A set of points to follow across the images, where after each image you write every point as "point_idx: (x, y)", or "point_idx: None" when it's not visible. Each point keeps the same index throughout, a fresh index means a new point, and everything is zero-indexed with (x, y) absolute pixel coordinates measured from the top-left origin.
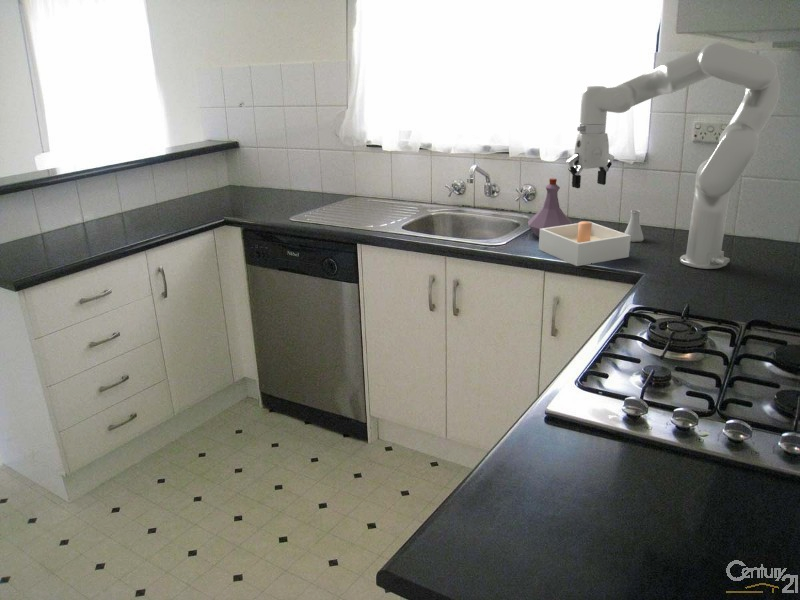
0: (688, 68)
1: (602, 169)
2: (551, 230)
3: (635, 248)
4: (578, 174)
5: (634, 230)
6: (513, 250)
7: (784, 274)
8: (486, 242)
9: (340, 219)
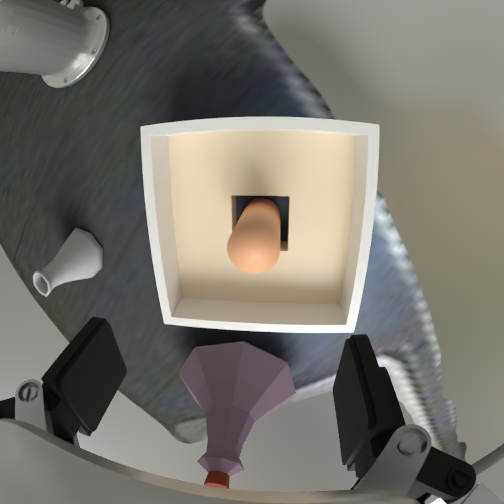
0: None
1: (59, 421)
2: (317, 320)
3: (111, 188)
4: (395, 436)
5: (73, 250)
6: (391, 316)
7: None
8: None
9: None
